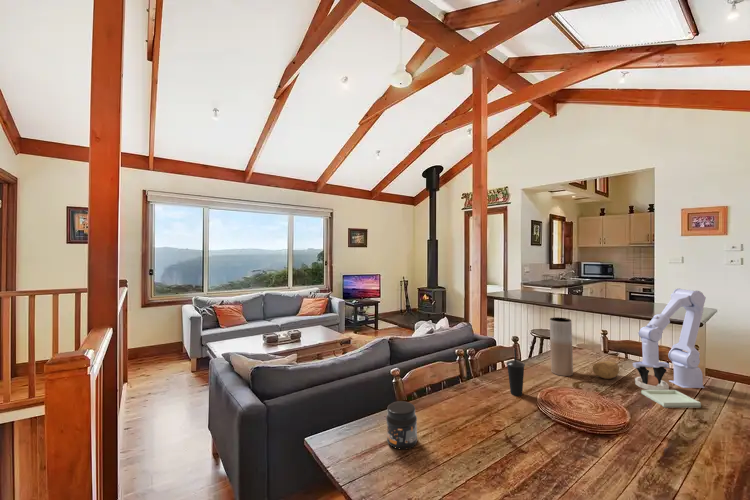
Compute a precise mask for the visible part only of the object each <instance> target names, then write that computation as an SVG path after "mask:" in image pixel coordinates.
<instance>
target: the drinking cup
mask: <svg viewBox="0 0 750 500" xmlns="http://www.w3.org/2000/svg"><path fill="white" fill-rule="evenodd" d="M513 351H514V354H513V355H514V359H511V360H508V361H506V367H507V373H508V382H509V383H508V384H509V389H510V394H511V395H512V396H515V397H522V396H523V392H524V391H523V390H524V389H523V388H524V374H525V365H526V364H525V362H522V361H520V360H517V349H516V348H514V350H513Z"/></svg>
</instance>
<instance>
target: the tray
mask: <svg viewBox="0 0 750 500" xmlns="http://www.w3.org/2000/svg"><path fill="white" fill-rule="evenodd" d="M641 395H643V396H645V397H646V398H648V399H649V400H651V401H653V402H655V403H657V404H658V405H660V406H662V408H665V409H666V408H668V409H670V408H675V409H676V408H677V409H681V408H683V409H687V408H688V409H691V408H692V409H693V408H694V409H697V408H698V409H699V408H701V407H702V404H701V403H702V402H700V401H699V400H696V399H695V398H692V397H690V396H689V395H686V394H685V393H682V392H681V391H679V390H676V389H669V390H647V389H641Z"/></svg>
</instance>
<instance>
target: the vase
mask: <svg viewBox="0 0 750 500" xmlns="http://www.w3.org/2000/svg"><path fill="white" fill-rule="evenodd" d="M572 325H573V323H572V319H570V318H566V317H559V316H558V317H550V318H549V334H550V335H549V337H550V339H549V341H550V343H549V345H550V348H549V349H550V370H551V373H552V374H555V375H557V376H561V377H570V376H573V374H574V360H573V359H574V358H573V332H572V331H573V329H572Z"/></svg>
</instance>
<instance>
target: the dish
mask: <svg viewBox="0 0 750 500" xmlns="http://www.w3.org/2000/svg"><path fill="white" fill-rule="evenodd" d="M634 383H635V384H634V385H636V386H637V387H639V388H640V389H641V388H642V389H643V390H670V385H669V383H668V382H666V381H665V380H661V383H660V384H658V385H657V386H653V385H648V384H645V383H643V382H642V378H641V376H637V377H634Z"/></svg>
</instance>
